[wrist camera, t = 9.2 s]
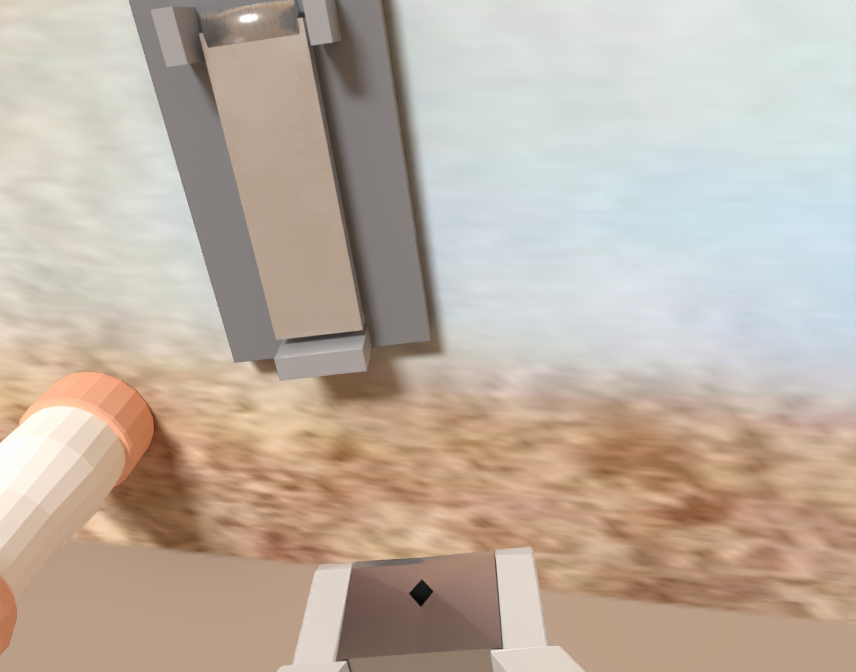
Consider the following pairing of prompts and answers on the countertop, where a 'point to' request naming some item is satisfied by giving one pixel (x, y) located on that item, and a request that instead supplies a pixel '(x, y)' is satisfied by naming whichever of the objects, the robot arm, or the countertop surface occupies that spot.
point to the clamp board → (356, 170)
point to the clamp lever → (283, 165)
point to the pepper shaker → (62, 473)
